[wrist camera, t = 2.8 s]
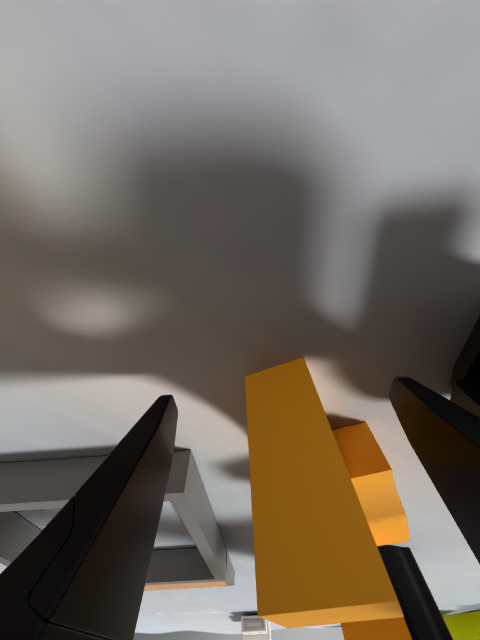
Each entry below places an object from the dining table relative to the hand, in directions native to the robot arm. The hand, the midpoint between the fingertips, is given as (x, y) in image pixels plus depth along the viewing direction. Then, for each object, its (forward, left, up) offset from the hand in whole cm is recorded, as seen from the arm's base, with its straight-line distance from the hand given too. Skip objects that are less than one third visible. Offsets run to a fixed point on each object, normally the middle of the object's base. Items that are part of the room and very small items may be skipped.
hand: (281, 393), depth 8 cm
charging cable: (+4, +71, -2) cm, 71 cm away
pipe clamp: (-3, +5, -2) cm, 6 cm away
